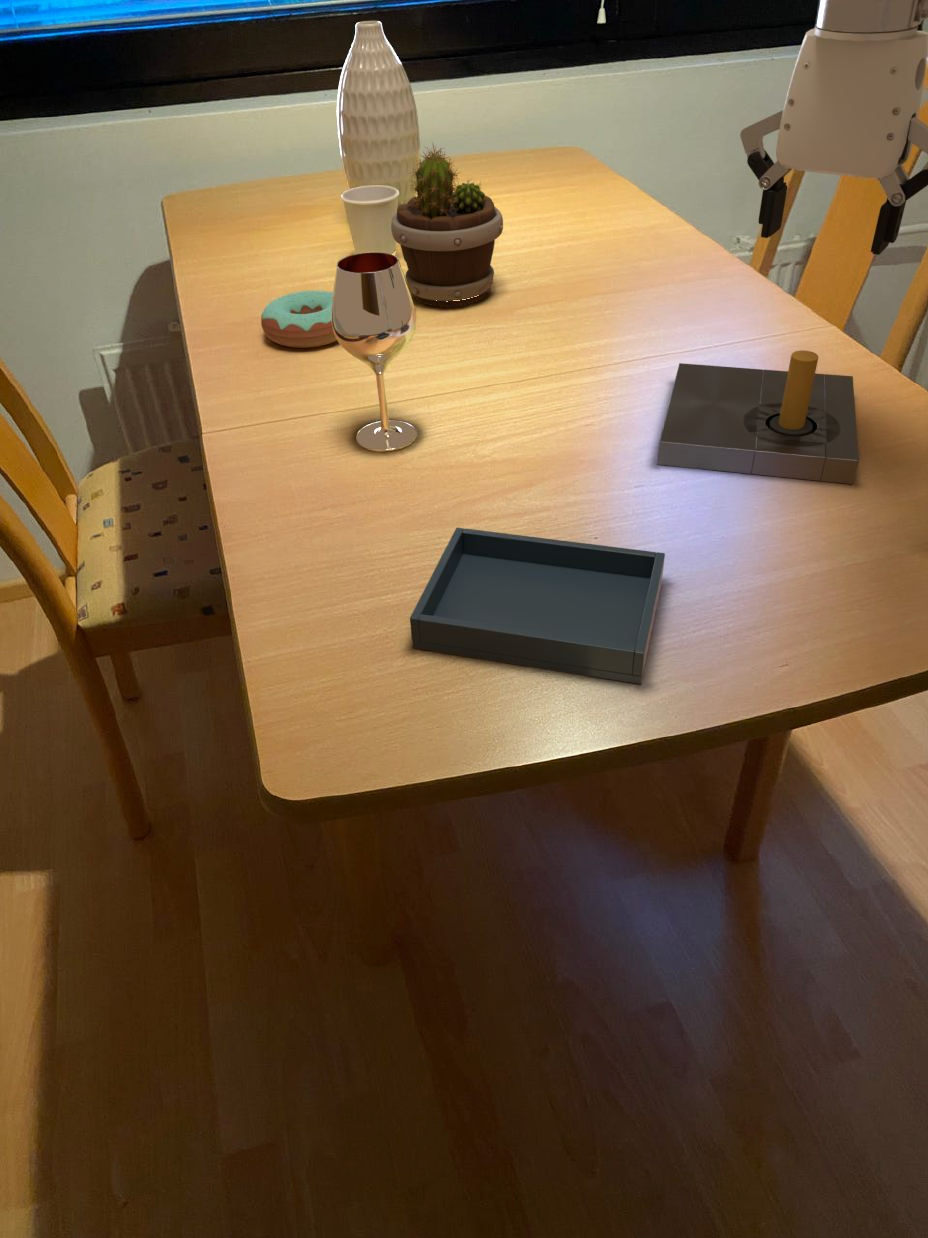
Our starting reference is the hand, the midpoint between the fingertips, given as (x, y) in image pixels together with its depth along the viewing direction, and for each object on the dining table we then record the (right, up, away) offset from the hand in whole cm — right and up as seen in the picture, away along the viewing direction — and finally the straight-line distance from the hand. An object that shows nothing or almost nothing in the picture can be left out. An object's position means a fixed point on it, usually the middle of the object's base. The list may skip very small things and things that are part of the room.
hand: (823, 241), depth 82 cm
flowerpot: (-34, +11, +46) cm, 58 cm away
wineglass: (-40, -14, +15) cm, 45 cm away
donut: (-51, +3, +37) cm, 64 cm away
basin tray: (-26, -33, -8) cm, 43 cm away
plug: (0, -16, +10) cm, 19 cm away
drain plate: (-2, -14, +13) cm, 19 cm away
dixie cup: (-45, +20, +57) cm, 75 cm away
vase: (-45, +32, +72) cm, 91 cm away
